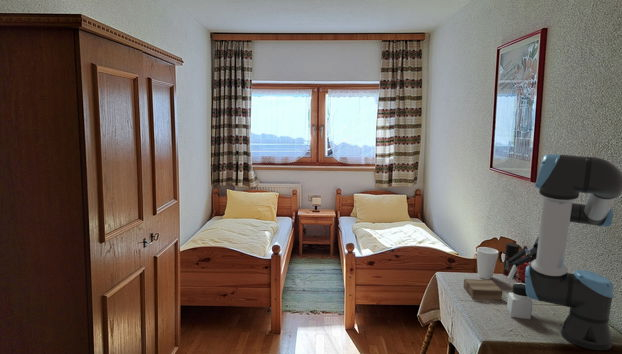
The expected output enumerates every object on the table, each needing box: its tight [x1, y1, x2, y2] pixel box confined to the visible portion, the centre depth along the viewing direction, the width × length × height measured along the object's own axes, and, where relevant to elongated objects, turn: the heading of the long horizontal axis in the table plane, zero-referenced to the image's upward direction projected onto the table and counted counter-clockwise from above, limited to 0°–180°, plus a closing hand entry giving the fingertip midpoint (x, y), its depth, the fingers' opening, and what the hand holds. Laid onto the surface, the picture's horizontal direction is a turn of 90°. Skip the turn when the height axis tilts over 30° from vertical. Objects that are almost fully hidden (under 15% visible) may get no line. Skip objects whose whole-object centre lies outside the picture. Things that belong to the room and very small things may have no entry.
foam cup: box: [476, 246, 499, 280], centre depth 211 cm, size 10×9×13 cm
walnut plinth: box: [463, 278, 503, 301], centre depth 191 cm, size 12×12×4 cm
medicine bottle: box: [506, 282, 533, 320], centre depth 172 cm, size 7×7×12 cm
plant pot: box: [516, 255, 533, 284], centre depth 202 cm, size 13×13×12 cm
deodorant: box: [502, 242, 520, 278], centre depth 215 cm, size 6×6×15 cm
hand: (525, 285), depth 175 cm, fingers open, 13 cm apart
